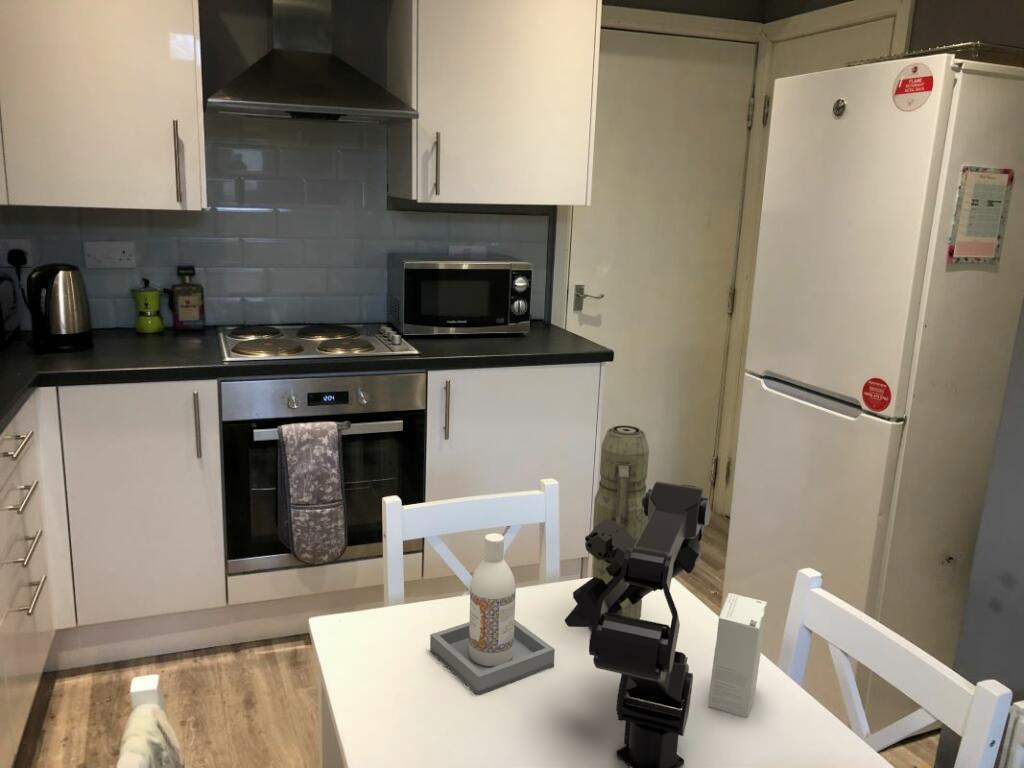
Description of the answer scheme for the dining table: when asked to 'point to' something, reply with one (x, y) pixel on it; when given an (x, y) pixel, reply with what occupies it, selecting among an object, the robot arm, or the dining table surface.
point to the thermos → (622, 492)
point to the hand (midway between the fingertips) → (583, 610)
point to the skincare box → (737, 654)
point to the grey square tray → (481, 679)
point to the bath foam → (492, 607)
